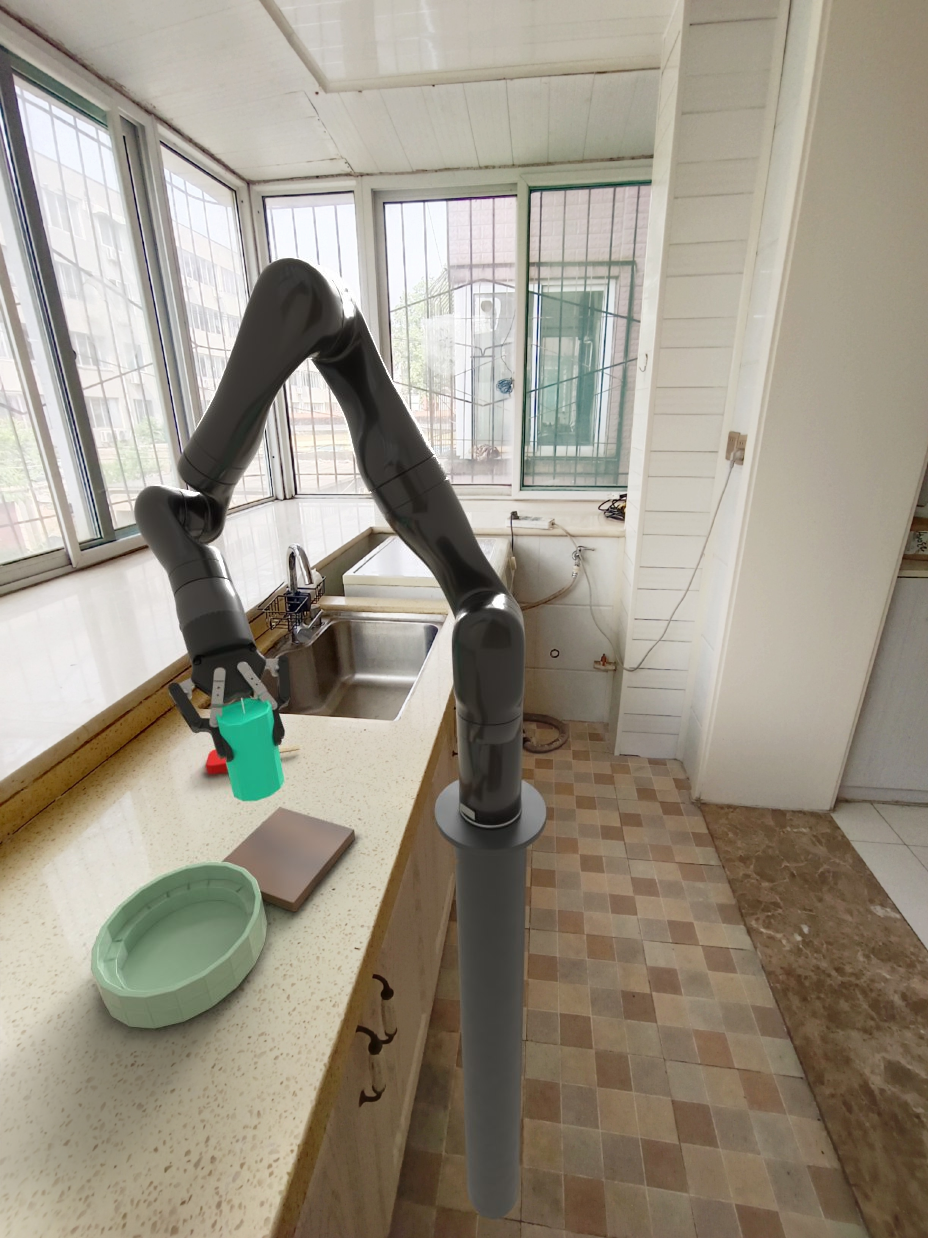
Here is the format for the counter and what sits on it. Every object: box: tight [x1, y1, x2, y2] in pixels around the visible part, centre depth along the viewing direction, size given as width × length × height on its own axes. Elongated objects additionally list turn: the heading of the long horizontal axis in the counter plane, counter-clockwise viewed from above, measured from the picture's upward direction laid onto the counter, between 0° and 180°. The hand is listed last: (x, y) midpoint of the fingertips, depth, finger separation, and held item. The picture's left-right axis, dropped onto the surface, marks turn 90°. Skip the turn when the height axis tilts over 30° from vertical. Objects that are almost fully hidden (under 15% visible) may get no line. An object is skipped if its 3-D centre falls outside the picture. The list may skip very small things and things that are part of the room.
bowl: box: [90, 861, 268, 1029], centre depth 59 cm, size 16×16×5 cm
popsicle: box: [205, 745, 301, 776], centre depth 93 cm, size 6×15×2 cm, turn 105°
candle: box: [216, 697, 285, 802], centre depth 63 cm, size 6×6×12 cm
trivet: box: [221, 806, 356, 913], centre depth 72 cm, size 13×13×2 cm
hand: (254, 751), depth 62 cm, fingers closed on candle, 4 cm apart
